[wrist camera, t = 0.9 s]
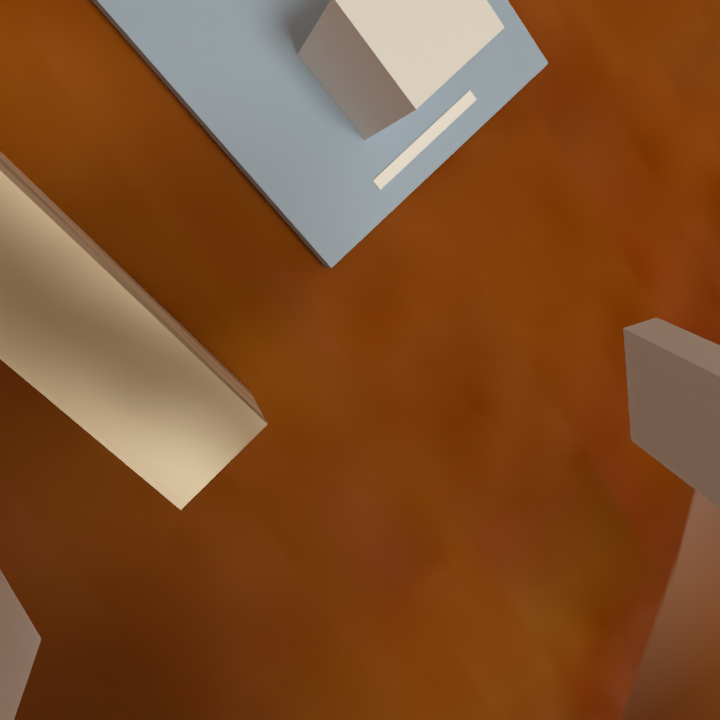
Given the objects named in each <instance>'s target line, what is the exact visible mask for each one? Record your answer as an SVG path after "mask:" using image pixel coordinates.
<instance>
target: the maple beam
mask: <svg viewBox="0 0 720 720" xmlns="http://www.w3.org/2000/svg"><path fill="white" fill-rule="evenodd" d="M0 359H1V360H2V361H3V362H4V363H6V364H7V365H8V366H9V367H10V368H12V369H13V370H14V371H15V372H16V373H18V374H19V375H20V376H21V377H22V378H23V379H25V380H26V381H27V382H28V383H29V384H31V385H32V386H33V387H34V388H35V389H37V390H38V391H39V392H40V393H41V394H43V395H44V396H45V397H46V398H47V399H49V400H50V401H51V402H52V403H53V404H55V405H56V406H57V407H58V408H59V409H61V410H62V411H63V412H64V413H65V414H67V415H68V416H69V417H70V418H71V419H72V420H74V421H75V422H76V423H77V424H78V425H80V426H81V427H82V428H83V429H84V430H86V431H87V432H88V433H89V434H90V435H92V436H93V437H94V438H95V439H96V440H98V441H99V442H100V443H101V444H102V445H104V446H105V447H106V448H107V449H108V450H110V451H111V452H112V453H113V454H114V455H116V456H117V457H118V458H119V459H120V460H121V461H123V462H124V463H125V464H126V465H127V466H129V467H130V468H131V469H132V470H133V471H135V472H136V473H137V474H138V475H139V476H141V477H142V478H143V479H144V480H145V481H147V482H148V483H149V484H150V485H151V486H153V487H154V488H155V489H156V490H157V491H159V492H160V493H161V494H162V495H163V496H165V497H166V498H167V499H168V500H169V501H171V502H172V503H173V504H174V505H175V506H176V507H178V508H179V509H180V510H181V509H182V508H183V507H184V506H185V505H186V504H187V503H188V502H189V501H190V500H191V499H192V498H193V497H194V496H195V495H197V494H198V493H199V492H200V491H201V490H202V489H203V488H204V487H205V486H206V485H207V484H208V483H209V482H210V481H211V480H212V479H213V478H214V477H215V476H216V475H217V474H218V473H219V472H220V471H221V470H222V469H223V468H224V467H225V466H226V465H227V464H228V463H229V462H230V461H231V460H232V459H233V458H234V457H235V456H236V455H237V454H238V453H239V452H240V451H241V450H242V449H243V448H244V447H245V446H246V445H247V444H248V443H249V442H250V441H251V440H252V439H253V438H254V437H255V436H256V435H257V434H258V433H259V432H260V431H261V430H262V429H263V428H264V427H265V426H266V425H267V422H266V420H265V418H264V417H263V415H262V413H261V411H260V409H259V407H258V405H257V404H256V402H255V400H254V398H253V396H252V394H251V392H250V391H249V390H248V389H247V388H246V387H245V386H244V385H243V384H242V383H241V382H240V381H239V380H238V379H237V378H236V377H235V376H234V375H233V374H232V373H231V372H230V371H229V370H228V369H226V368H225V367H224V366H223V365H222V364H221V363H220V362H219V361H218V360H217V359H216V358H215V357H214V356H213V355H212V354H211V353H210V352H209V351H208V350H207V349H206V348H205V347H204V346H203V345H202V344H200V343H199V342H198V341H197V340H196V339H195V338H194V337H193V336H192V335H191V334H190V333H189V332H188V331H187V330H186V329H185V328H184V327H183V326H182V325H181V324H180V323H179V322H178V321H177V320H176V319H174V318H173V317H172V316H171V315H170V314H169V313H168V312H167V311H166V310H165V309H164V308H163V307H162V306H161V305H160V304H159V303H158V302H157V301H156V300H155V299H154V298H153V297H152V296H151V295H149V294H148V293H147V292H146V291H145V290H144V289H143V288H142V287H141V286H140V285H139V284H138V283H137V282H136V281H135V280H134V279H133V278H132V277H131V276H130V275H129V274H128V273H127V272H126V271H125V270H123V269H122V268H121V267H120V266H119V265H118V264H117V263H116V262H115V261H114V260H113V259H112V258H111V257H110V256H109V255H108V254H107V253H106V252H105V251H104V250H103V249H102V248H101V247H100V246H99V245H97V244H96V243H95V242H94V241H93V240H92V239H91V238H90V237H89V236H88V235H87V234H86V233H85V232H84V231H83V230H82V229H81V228H80V227H79V226H78V225H77V224H76V223H75V222H74V221H72V220H71V219H70V218H69V217H68V216H67V215H66V214H65V213H64V212H63V211H62V210H61V209H60V208H59V207H58V206H57V205H56V204H55V203H54V202H53V201H52V200H51V199H50V198H49V197H48V196H46V195H45V194H44V193H43V192H42V191H41V190H40V189H39V188H38V187H37V186H36V185H35V184H34V183H33V182H32V181H31V180H30V179H29V178H28V177H27V176H26V175H25V174H24V173H23V172H22V171H20V170H19V169H18V168H17V167H16V166H15V165H14V164H13V163H12V162H11V161H10V160H9V159H8V158H7V157H6V156H5V155H4V154H3V153H2V152H1V151H0Z"/></svg>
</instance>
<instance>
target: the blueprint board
mask: <svg viewBox="0 0 720 720" xmlns="http://www.w3.org/2000/svg"><path fill="white" fill-rule="evenodd" d="M91 1H92V2H93V3H94V4H95V5H96V6H97V7H98V9H99V10H100V11H101V12H102V13H103V14H104V15H105V17H106V18H107V19H108V20H109V21H110V22H111V23H112V25H113V26H114V27H115V28H116V29H117V30H118V31H119V33H120V34H121V35H122V36H123V37H124V38H125V39H126V41H127V42H128V43H129V44H130V45H131V46H132V47H133V48H134V50H135V51H136V52H137V53H138V54H139V55H140V56H141V58H142V59H143V60H144V61H145V62H146V63H147V64H148V66H149V67H150V68H151V69H152V70H153V71H154V72H155V74H156V75H157V76H158V77H159V78H160V79H161V80H162V82H163V83H164V84H165V85H166V86H167V87H168V88H169V89H170V91H171V92H172V93H173V94H174V95H175V96H176V97H177V99H178V100H179V101H180V102H181V103H182V104H183V105H184V107H185V108H186V109H187V110H188V111H189V112H190V113H191V115H192V116H193V117H194V118H195V119H196V120H197V121H198V122H199V124H200V125H201V126H202V127H203V128H204V129H205V130H206V132H207V133H208V134H209V135H210V136H211V137H212V138H213V140H214V141H215V142H216V143H217V144H218V145H219V146H220V148H221V149H222V150H223V151H224V152H225V153H226V154H227V156H228V157H229V158H230V159H231V160H232V161H233V162H234V163H235V165H236V166H237V167H238V168H239V169H240V170H241V171H242V173H243V174H244V175H245V176H246V177H247V178H248V179H249V181H250V182H251V183H252V184H253V185H254V186H255V187H256V189H257V190H258V191H259V192H260V193H261V194H262V195H263V197H264V198H265V199H266V200H267V201H268V202H269V203H270V204H271V206H272V207H273V208H274V209H275V210H276V211H277V212H278V214H279V215H280V216H281V217H282V218H283V219H284V220H285V222H286V223H287V224H288V225H289V226H290V227H291V228H292V230H293V231H294V232H295V233H296V234H297V235H298V236H299V238H300V239H301V240H302V241H303V242H304V243H305V244H306V245H307V247H308V248H309V249H310V250H311V251H312V252H313V253H314V255H315V256H316V257H317V258H318V259H319V260H320V261H321V263H322V264H323V265H324V266H325V267H326V268H332V267H333V266H334V265H335V264H336V263H337V262H338V261H339V260H341V259H342V258H343V257H344V256H345V255H346V254H347V253H348V252H349V251H350V250H351V249H352V248H353V247H354V246H355V245H356V244H357V243H359V242H360V241H361V240H362V239H363V238H364V237H365V236H366V235H367V234H368V233H369V232H370V231H371V230H372V229H373V228H374V227H375V226H377V225H378V224H379V223H380V222H381V221H382V220H383V219H384V218H385V217H386V216H387V215H388V214H389V213H390V212H391V211H392V210H393V209H395V208H396V207H397V206H398V205H399V204H400V203H401V202H402V201H403V200H404V199H405V198H406V197H407V196H408V195H409V194H410V193H412V192H413V191H414V190H415V189H416V188H417V187H418V186H419V185H420V184H421V183H422V182H423V181H424V180H425V179H426V178H427V177H428V176H430V175H431V174H432V173H433V172H434V171H435V170H436V169H437V168H438V167H439V166H440V165H441V164H442V163H443V162H444V161H445V160H446V159H448V158H449V157H450V156H451V155H452V154H453V153H454V152H455V151H456V150H457V149H458V148H459V147H460V146H461V145H462V144H463V143H464V142H466V141H467V140H468V139H469V138H470V137H471V136H472V135H473V134H474V133H475V132H476V131H477V130H478V129H479V128H480V127H481V126H482V125H484V124H485V123H486V122H487V121H488V120H489V119H490V118H491V117H492V116H493V115H494V114H495V113H496V112H497V111H498V110H499V109H501V108H502V107H503V106H504V105H505V104H506V103H507V102H508V101H509V100H510V99H511V98H512V97H513V96H514V95H515V94H516V93H517V92H519V91H520V90H521V89H522V88H523V87H524V86H525V85H526V84H527V83H528V82H529V81H530V80H531V79H532V78H533V77H534V76H535V75H537V74H538V73H539V72H540V71H541V70H542V69H543V68H544V67H545V66H546V65H547V64H548V62H547V60H546V59H545V57H544V56H543V54H542V53H541V51H540V49H539V48H538V46H537V45H536V43H535V42H534V40H533V39H532V37H531V35H530V34H529V32H528V31H527V29H526V28H525V26H524V25H523V23H522V22H521V20H520V18H519V17H518V15H517V14H516V12H515V11H514V9H513V8H512V6H511V4H510V3H509V1H508V0H91Z"/></svg>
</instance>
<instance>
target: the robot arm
mask: <svg viewBox="0 0 720 720" xmlns="http://www.w3.org/2000/svg"><path fill="white" fill-rule="evenodd" d="M624 343H625V357H626V371H627V386H628V400H629V414H630V429H631V441H633V442H634V443H635V444H637V445H638V446H639V447H641V448H642V449H643V450H644V451H646V452H647V453H648V454H650V455H651V456H652V457H654V458H655V459H656V460H658V461H659V462H660V463H661V464H663V465H664V466H665V467H667V468H668V469H669V470H671V471H672V472H673V473H674V474H676V475H677V476H678V477H680V478H681V479H682V480H684V481H685V482H686V483H688V484H689V485H690V486H691V487H693V488H694V489H695V490H697V491H698V492H699V493H701V494H702V495H703V496H705V497H706V498H707V499H709V500H710V501H711V502H713V503H714V504H715V505H716V506H718V507H719V508H720V345H718V344H715V343H713V342H711V341H709V340H706V339H704V338H702V337H700V336H697V335H695V334H693V333H691V332H688V331H686V330H684V329H681V328H679V327H677V326H675V325H672V324H670V323H668V322H666V321H663V320H661V319H659V318H654V319H651V320H648V321H644V322H641V323H638V324H635V325H632V326H629V327H625V328H624ZM40 642H41V637H40V636H39V634H38V632H37V631H36V629H35V627H34V625H33V624H32V622H31V620H30V619H29V617H28V615H27V614H26V612H25V610H24V609H23V607H22V605H21V604H20V602H19V600H18V599H17V597H16V595H15V594H14V592H13V590H12V588H11V587H10V585H9V583H8V582H7V580H6V578H5V577H4V575H3V573H2V572H1V570H0V720H14V718H15V715H16V712H17V709H18V707H19V704H20V701H21V698H22V695H23V692H24V689H25V686H26V683H27V680H28V677H29V674H30V671H31V668H32V665H33V662H34V659H35V656H36V654H37V651H38V648H39V645H40Z"/></svg>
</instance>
